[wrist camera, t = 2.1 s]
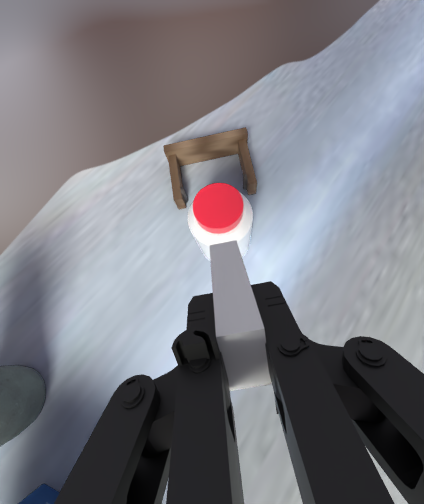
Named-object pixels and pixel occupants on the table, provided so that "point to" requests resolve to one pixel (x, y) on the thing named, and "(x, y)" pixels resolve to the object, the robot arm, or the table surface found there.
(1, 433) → the grey-green bottle
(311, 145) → the table surface
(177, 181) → the dock
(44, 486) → the protein box
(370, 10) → the table surface
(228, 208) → the pill bottle
